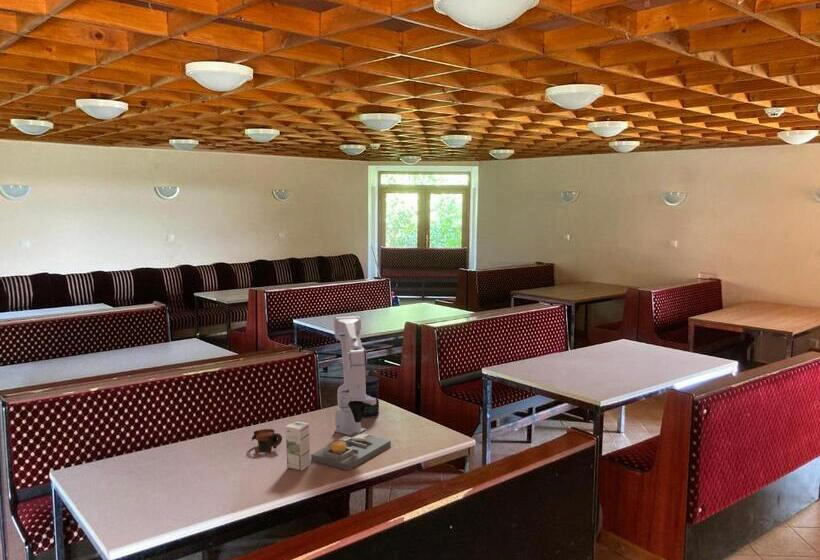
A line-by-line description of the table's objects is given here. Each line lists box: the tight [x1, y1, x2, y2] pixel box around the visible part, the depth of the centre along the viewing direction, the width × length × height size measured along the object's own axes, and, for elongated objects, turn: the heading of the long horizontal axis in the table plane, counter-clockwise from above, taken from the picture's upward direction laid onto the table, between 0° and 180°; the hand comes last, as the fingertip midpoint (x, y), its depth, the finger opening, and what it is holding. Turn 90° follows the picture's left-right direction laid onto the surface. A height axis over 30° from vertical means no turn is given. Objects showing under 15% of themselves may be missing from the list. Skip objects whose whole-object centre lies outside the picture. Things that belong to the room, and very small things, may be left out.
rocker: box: [352, 433, 374, 441], centre depth 215 cm, size 6×4×1 cm
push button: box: [330, 440, 346, 453], centre depth 204 cm, size 5×5×2 cm
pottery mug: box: [251, 428, 283, 454], centre depth 215 cm, size 12×10×8 cm
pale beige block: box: [337, 435, 352, 447], centre depth 212 cm, size 3×4×2 cm
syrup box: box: [285, 421, 311, 472], centre depth 199 cm, size 6×6×14 cm
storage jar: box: [362, 374, 380, 418], centre depth 249 cm, size 10×10×15 cm
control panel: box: [310, 432, 392, 471], centre depth 210 cm, size 16×24×3 cm, turn 147°
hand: (358, 421), depth 211 cm, fingers closed
